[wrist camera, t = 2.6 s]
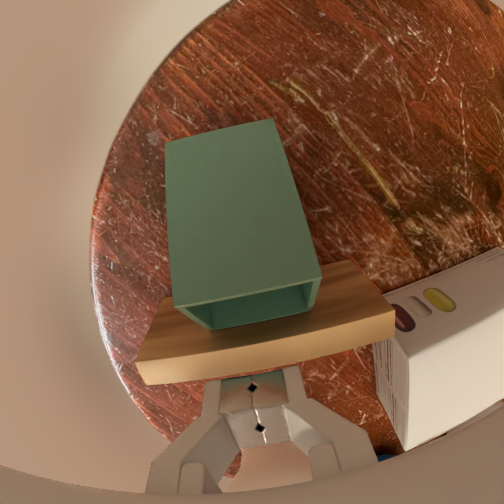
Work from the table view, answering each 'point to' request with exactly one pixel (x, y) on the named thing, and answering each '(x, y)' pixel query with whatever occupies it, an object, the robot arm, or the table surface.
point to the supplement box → (443, 349)
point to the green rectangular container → (237, 229)
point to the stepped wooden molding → (268, 333)
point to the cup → (271, 467)
